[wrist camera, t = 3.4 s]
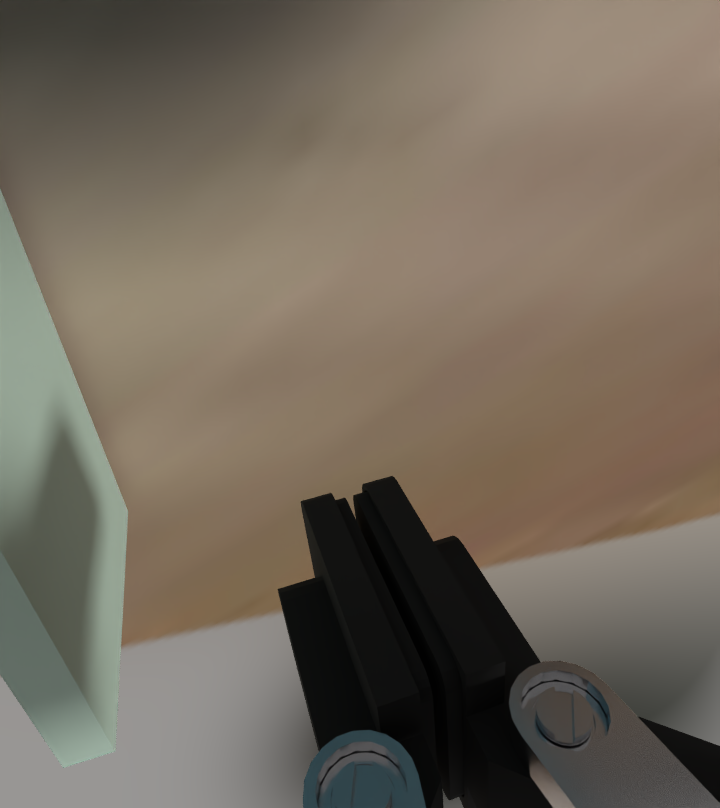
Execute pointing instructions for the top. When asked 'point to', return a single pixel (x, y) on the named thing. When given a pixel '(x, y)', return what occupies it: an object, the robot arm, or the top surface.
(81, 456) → the tray
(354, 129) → the top surface
